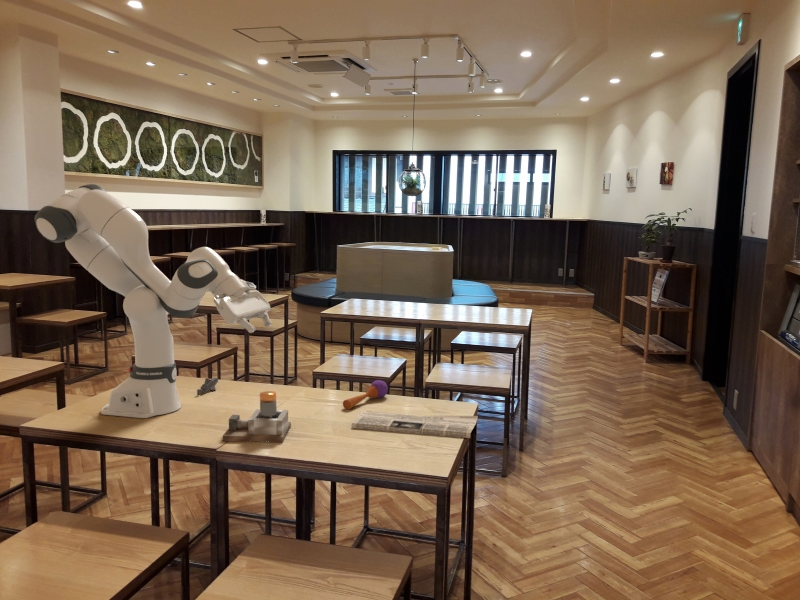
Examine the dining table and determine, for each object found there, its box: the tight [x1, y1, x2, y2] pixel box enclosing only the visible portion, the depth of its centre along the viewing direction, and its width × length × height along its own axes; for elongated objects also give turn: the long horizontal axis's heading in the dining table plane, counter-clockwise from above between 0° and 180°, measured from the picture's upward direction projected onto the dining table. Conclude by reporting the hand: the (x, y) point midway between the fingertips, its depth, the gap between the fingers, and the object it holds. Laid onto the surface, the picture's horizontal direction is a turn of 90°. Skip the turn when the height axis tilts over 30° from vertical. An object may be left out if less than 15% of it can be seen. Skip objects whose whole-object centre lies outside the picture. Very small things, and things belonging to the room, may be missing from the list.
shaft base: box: [222, 408, 292, 443], centre depth 166 cm, size 16×12×6 cm
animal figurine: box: [196, 377, 219, 396], centre depth 205 cm, size 12×4×5 cm, turn 164°
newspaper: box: [351, 410, 478, 439], centre depth 175 cm, size 35×12×4 cm, turn 80°
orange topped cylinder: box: [259, 390, 278, 419], centre depth 165 cm, size 4×4×10 cm
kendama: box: [342, 379, 389, 410], centre depth 197 cm, size 6×6×20 cm
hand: (261, 328), depth 174 cm, fingers open, 8 cm apart
